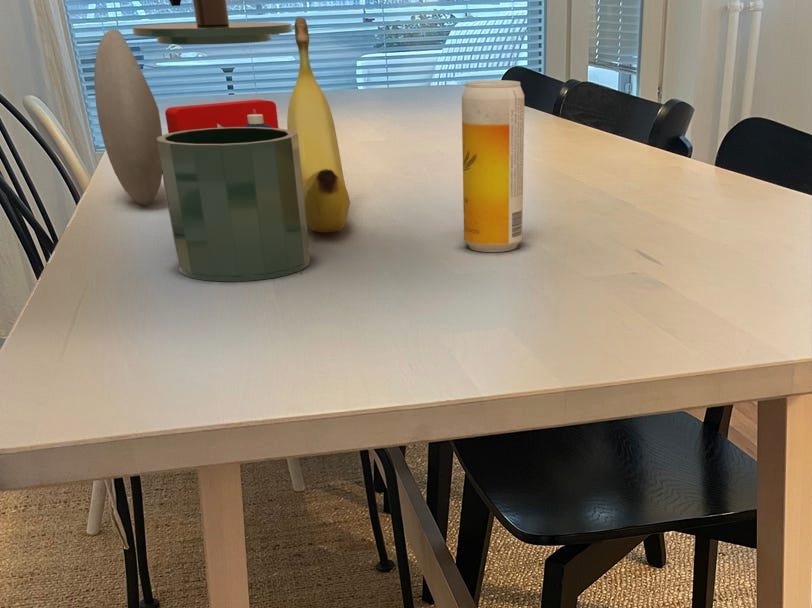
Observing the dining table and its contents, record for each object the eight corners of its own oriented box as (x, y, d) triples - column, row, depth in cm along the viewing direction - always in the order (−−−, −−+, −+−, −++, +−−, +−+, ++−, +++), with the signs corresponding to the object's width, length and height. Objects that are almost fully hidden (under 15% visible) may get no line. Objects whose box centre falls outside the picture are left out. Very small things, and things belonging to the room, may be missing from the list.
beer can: (479, 238, 106) (478, 79, 98) (531, 243, 104) (534, 80, 96) (454, 250, 102) (450, 84, 93) (507, 255, 99) (508, 86, 91)
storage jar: (160, 280, 92) (135, 145, 86) (202, 250, 103) (182, 127, 96) (292, 282, 91) (277, 145, 85) (321, 251, 102) (309, 126, 95)
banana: (361, 245, 104) (345, 22, 93) (305, 248, 103) (282, 23, 92) (340, 206, 122) (324, 16, 111) (293, 208, 121) (272, 16, 110)
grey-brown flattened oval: (181, 214, 119) (151, 32, 108) (120, 219, 117) (84, 33, 106) (165, 189, 133) (137, 26, 123) (110, 193, 131) (77, 27, 120)
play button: (189, 195, 129) (175, 109, 124) (178, 192, 131) (164, 107, 125) (284, 181, 138) (275, 100, 132) (273, 179, 139) (263, 99, 134)
